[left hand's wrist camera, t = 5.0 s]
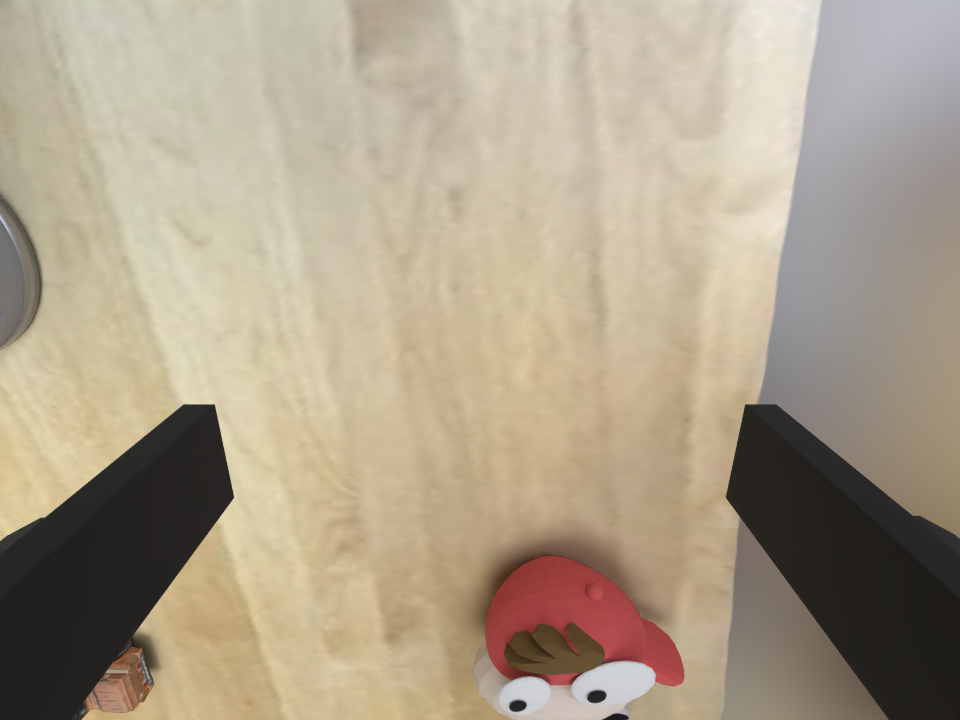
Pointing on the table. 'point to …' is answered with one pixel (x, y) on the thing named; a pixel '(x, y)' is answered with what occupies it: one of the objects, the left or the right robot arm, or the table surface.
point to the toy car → (120, 684)
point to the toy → (569, 646)
